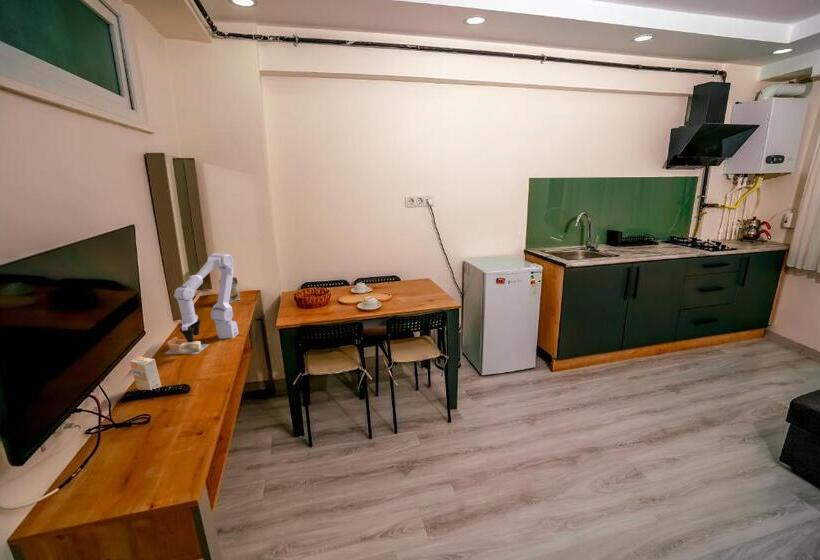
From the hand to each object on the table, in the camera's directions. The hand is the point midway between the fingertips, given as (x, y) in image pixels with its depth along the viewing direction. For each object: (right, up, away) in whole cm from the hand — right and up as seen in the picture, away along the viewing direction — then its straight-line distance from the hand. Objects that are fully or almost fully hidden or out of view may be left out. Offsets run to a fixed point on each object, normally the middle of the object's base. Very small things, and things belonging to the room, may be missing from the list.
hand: (193, 338), depth 179 cm
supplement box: (-2, -16, -28) cm, 32 cm away
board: (-5, -6, +4) cm, 9 cm away
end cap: (-10, -5, +5) cm, 13 cm away
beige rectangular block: (-2, -6, +2) cm, 7 cm away
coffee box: (-15, +13, +71) cm, 73 cm away
